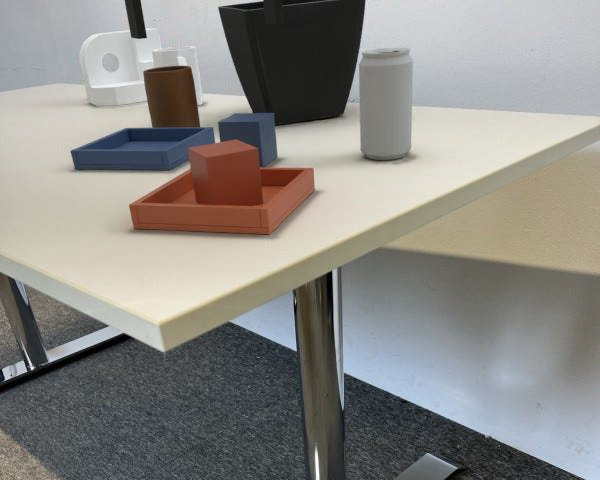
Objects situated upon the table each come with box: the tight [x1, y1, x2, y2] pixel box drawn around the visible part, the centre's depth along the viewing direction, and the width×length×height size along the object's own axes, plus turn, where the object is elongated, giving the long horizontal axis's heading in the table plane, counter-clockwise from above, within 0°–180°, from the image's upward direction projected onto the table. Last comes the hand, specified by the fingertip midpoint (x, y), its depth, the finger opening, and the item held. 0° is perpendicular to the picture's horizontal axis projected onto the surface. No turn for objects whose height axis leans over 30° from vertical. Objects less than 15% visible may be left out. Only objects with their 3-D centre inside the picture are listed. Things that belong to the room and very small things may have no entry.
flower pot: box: [217, 0, 367, 126], centre depth 106 cm, size 19×19×17 cm
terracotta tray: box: [128, 166, 316, 235], centre depth 68 cm, size 15×15×2 cm
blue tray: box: [70, 126, 216, 171], centre depth 92 cm, size 15×15×2 cm
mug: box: [143, 66, 201, 128], centre depth 104 cm, size 12×8×9 cm, turn 23°
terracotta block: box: [188, 139, 263, 206], centre depth 67 cm, size 6×6×6 cm
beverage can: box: [358, 47, 414, 161], centre depth 80 cm, size 6×6×12 cm
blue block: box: [217, 112, 279, 167], centre depth 84 cm, size 6×6×6 cm
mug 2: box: [152, 45, 204, 106], centre depth 125 cm, size 12×9×10 cm
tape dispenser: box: [78, 27, 163, 107], centre depth 136 cm, size 16×10×13 cm, turn 120°
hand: (209, 31), depth 62 cm, fingers open, 13 cm apart
